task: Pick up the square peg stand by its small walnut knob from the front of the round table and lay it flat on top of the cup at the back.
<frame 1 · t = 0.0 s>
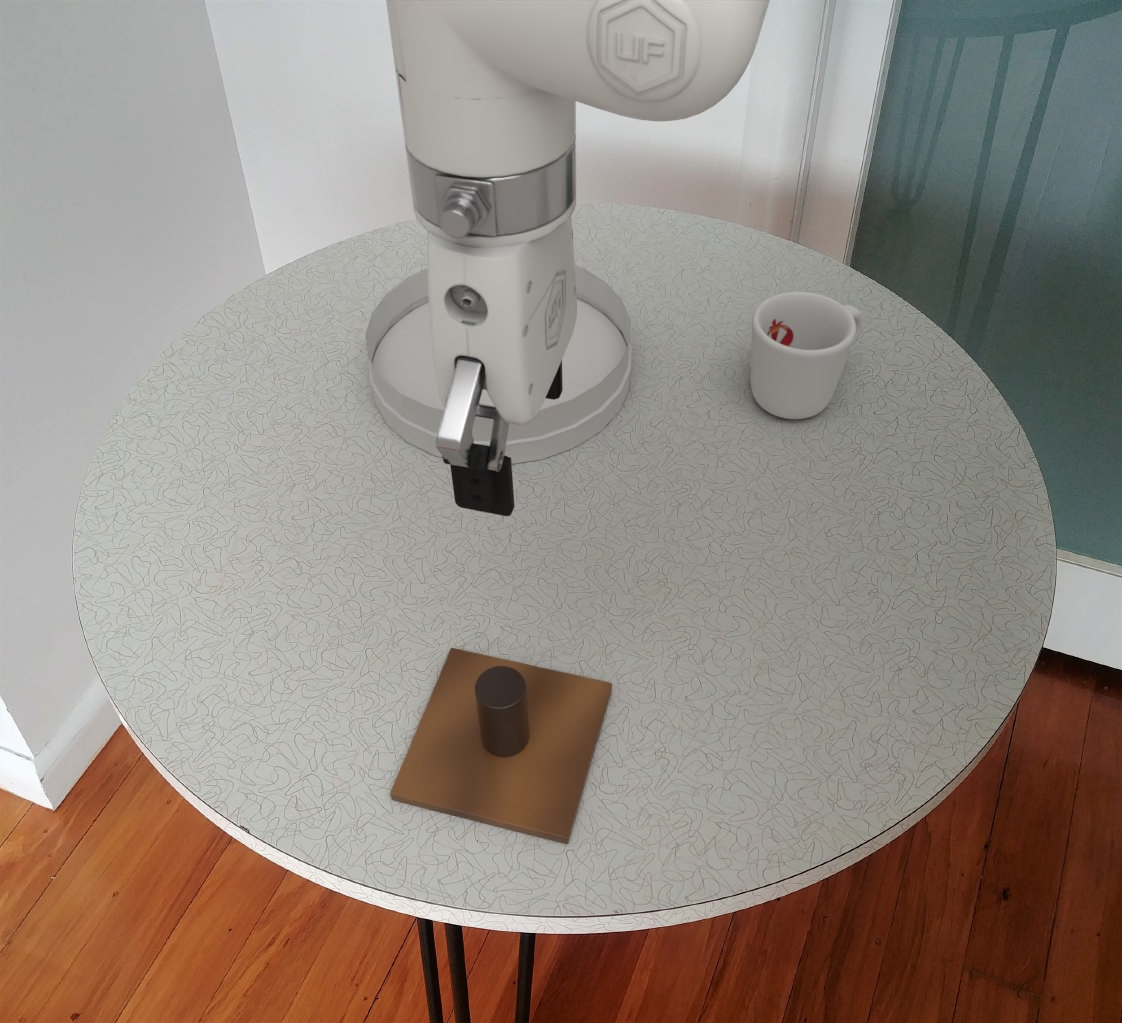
hand: (511, 447, 60), 17 cm above the table, tool pointing down, fingers open, 9 cm apart
dish: (501, 376, 91), on the table
square peg stand: (506, 742, 66), on the table
cup: (801, 393, 89), on the table
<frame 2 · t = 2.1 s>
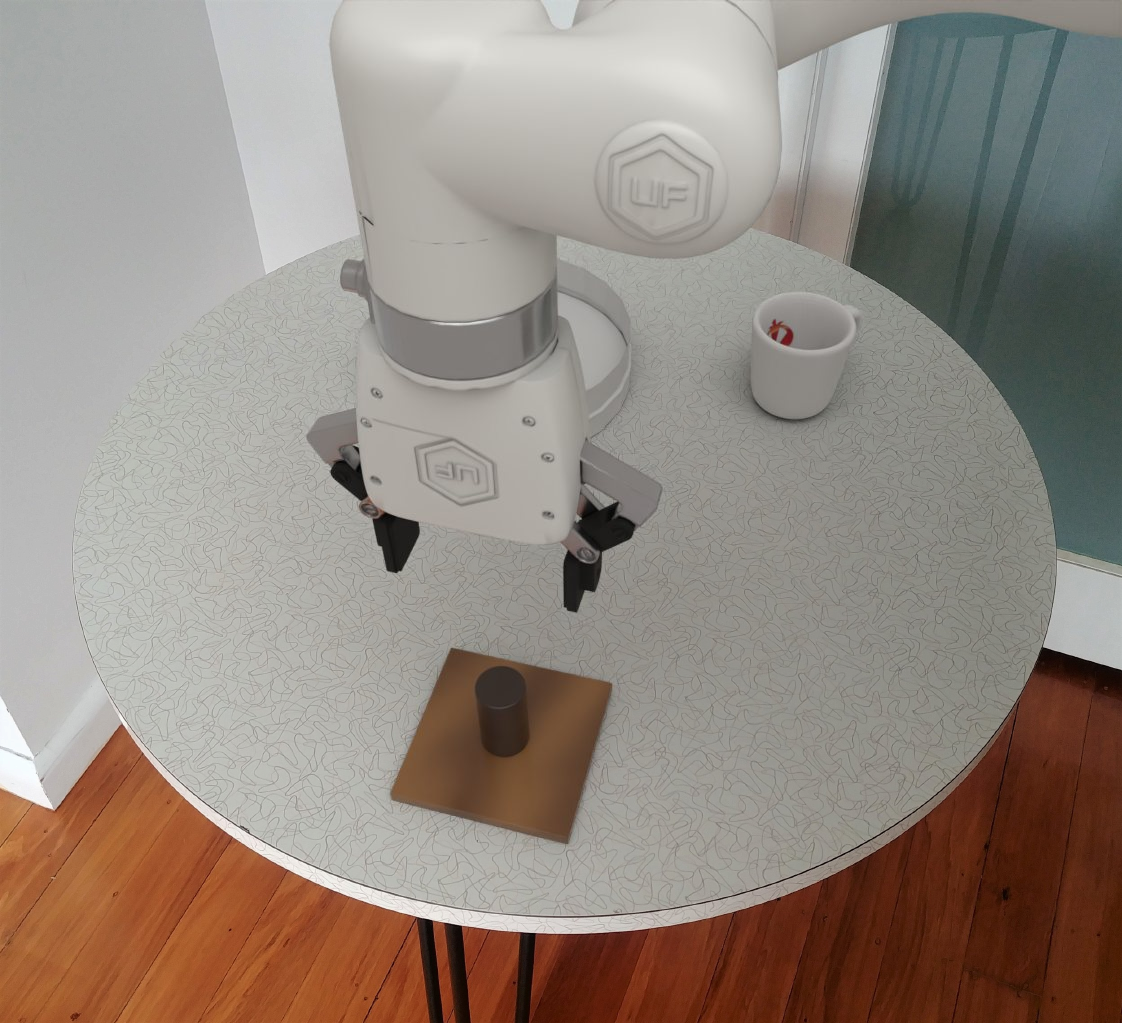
hand: (489, 571, 56), 15 cm above the table, tool pointing down, fingers open, 9 cm apart
nothing on the table moved.
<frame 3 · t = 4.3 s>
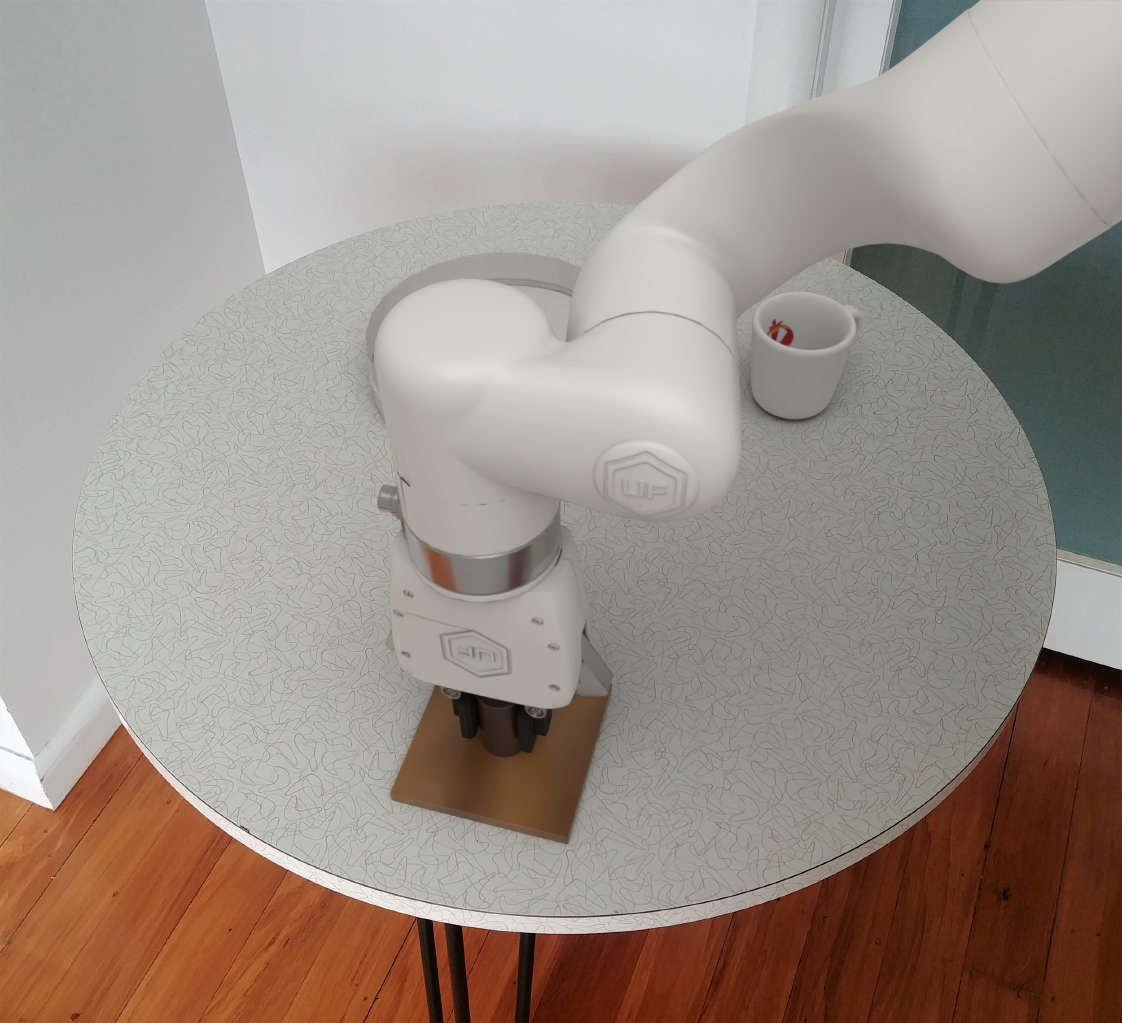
hand: (504, 723, 65), 2 cm above the table, tool pointing down, fingers closed on square peg stand, 3 cm apart
square peg stand: (506, 742, 66), on the table, touching gripper
everything else where it was.
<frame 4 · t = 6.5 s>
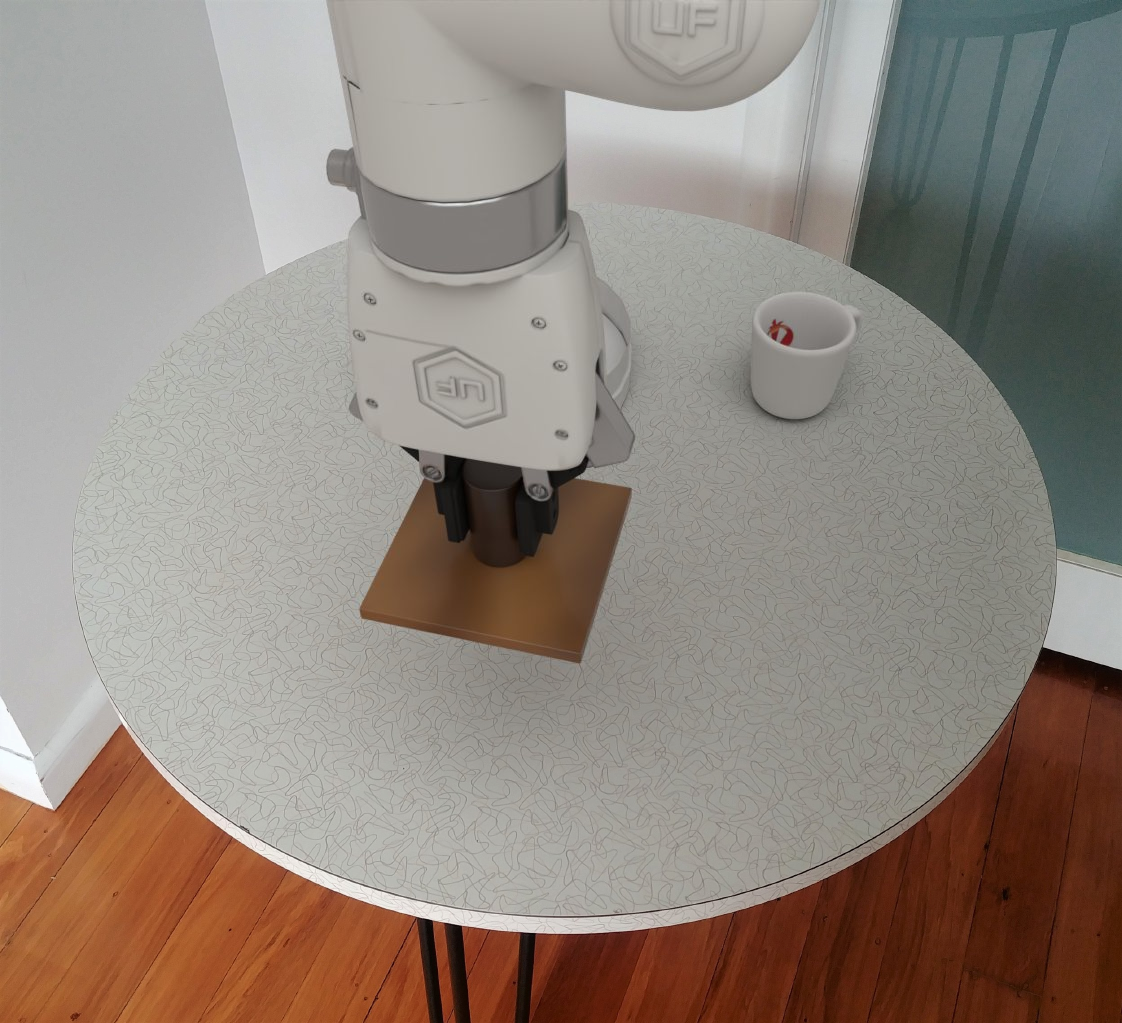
hand: (500, 526, 52), 20 cm above the table, tool pointing down, fingers closed on square peg stand, 3 cm apart
square peg stand: (502, 555, 54), point 17 cm above the table, touching gripper
everything else where it was.
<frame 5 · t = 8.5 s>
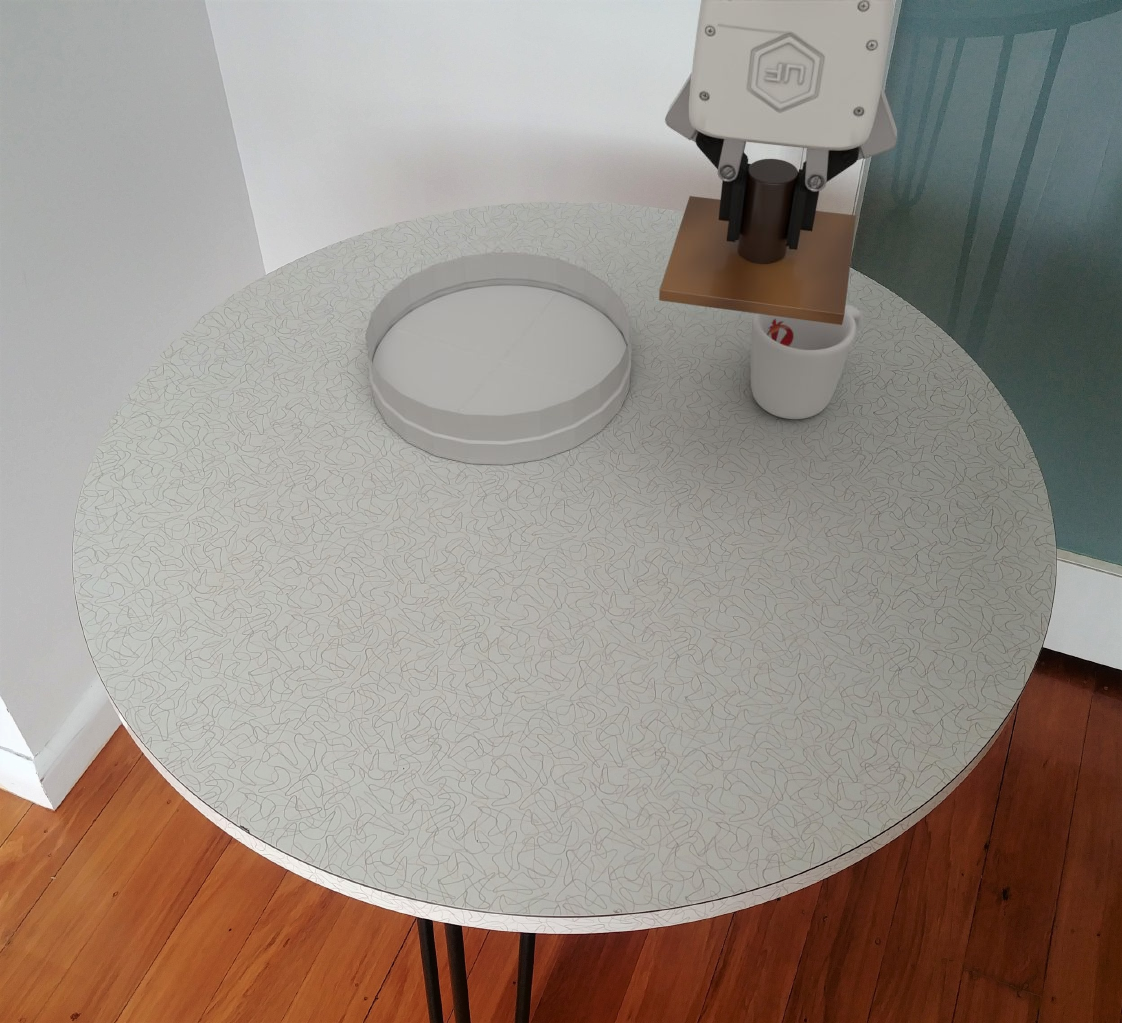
hand: (764, 231, 66), 22 cm above the table, tool pointing down, fingers closed on square peg stand, 3 cm apart
square peg stand: (760, 261, 67), point 20 cm above the table, touching gripper
everything else where it was.
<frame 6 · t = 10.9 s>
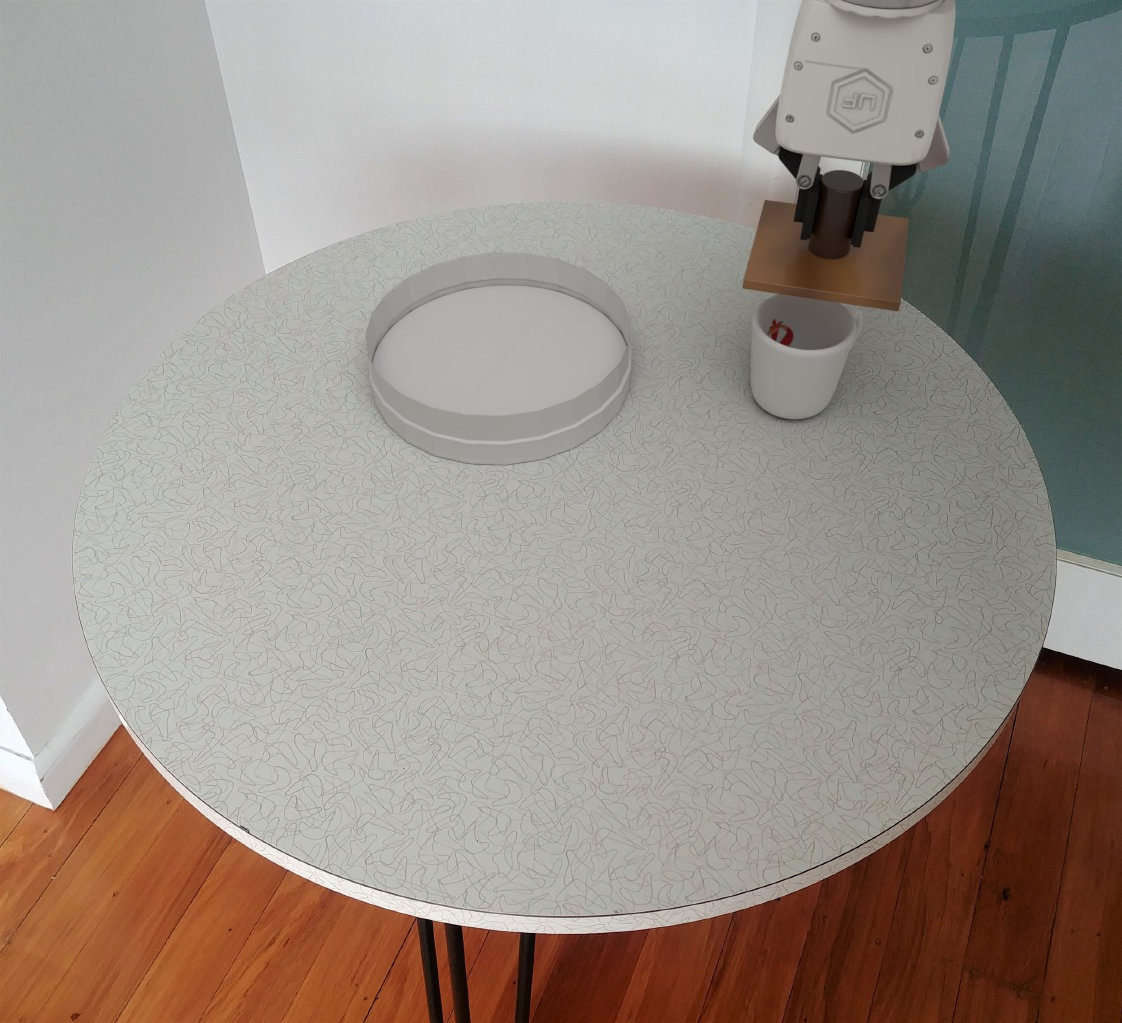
hand: (832, 231, 77), 15 cm above the table, tool pointing down, fingers closed on square peg stand, 3 cm apart
square peg stand: (827, 257, 79), point 13 cm above the table, touching gripper
everything else where it was.
when the fingers open (10 cm above the table, at t = 12.7 s): square peg stand stays where it is, resting on cup.
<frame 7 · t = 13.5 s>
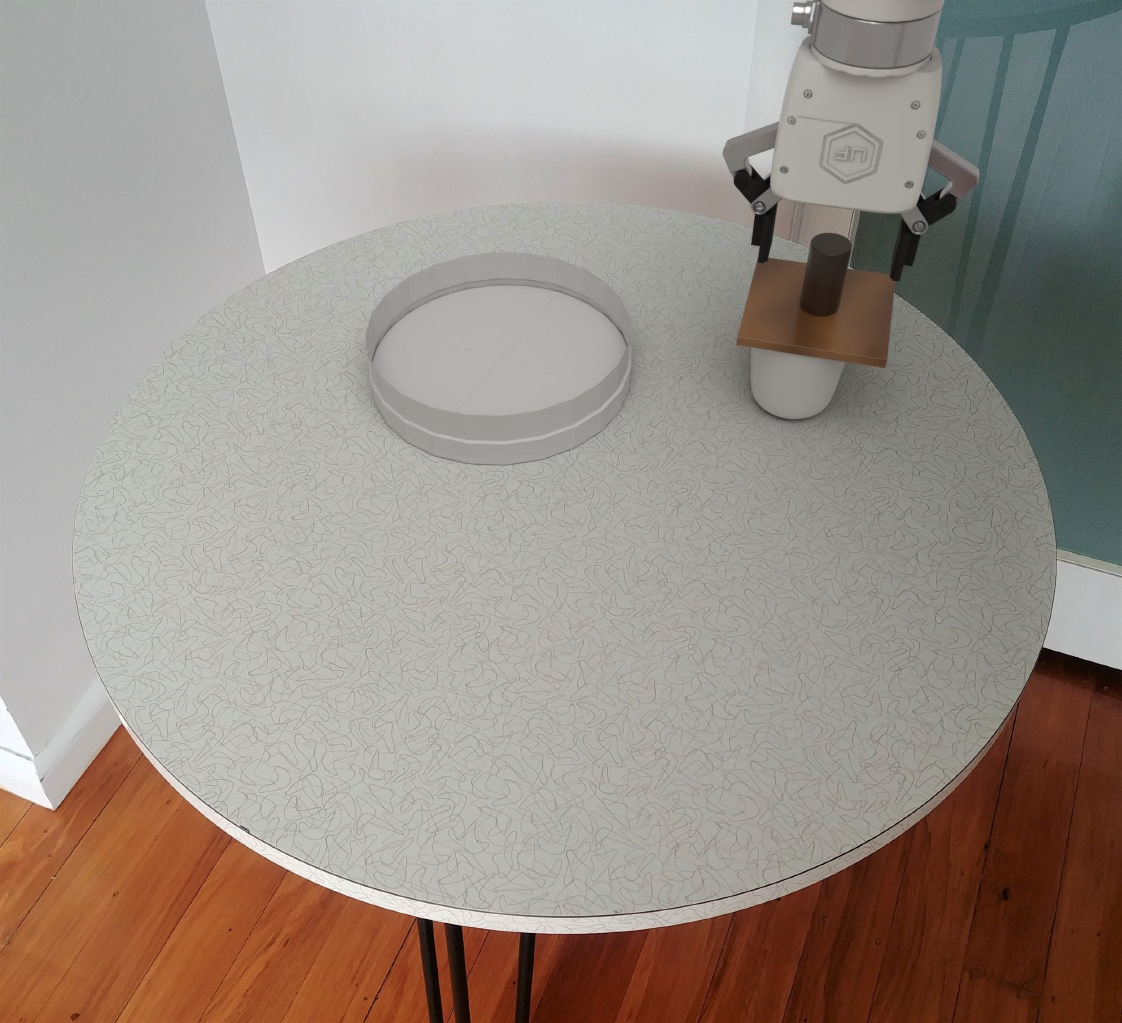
hand: (829, 261, 79), 13 cm above the table, tool pointing down, fingers open, 9 cm apart
square peg stand: (817, 313, 83), point 8 cm above the table, touching cup
cup: (801, 393, 89), on the table, touching square peg stand
everything else where it was.
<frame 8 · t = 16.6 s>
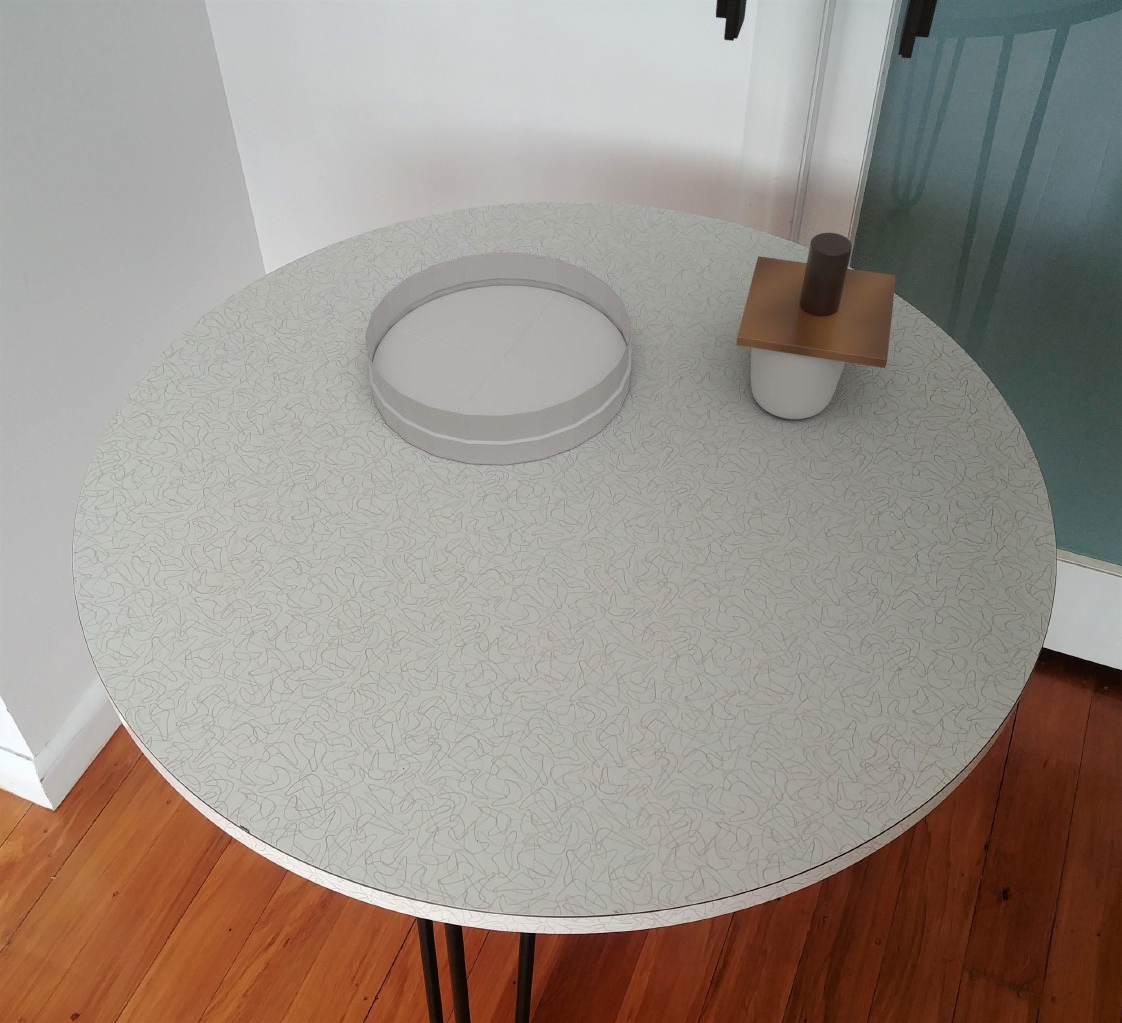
hand: (818, 39, 60), 32 cm above the table, tool pointing down, fingers open, 9 cm apart
nothing on the table moved.
at the end: square peg stand 0.0 cm off-centre on the cup, point 8.2 cm above the cup's base; square peg stand tilted 0°; the gripper is holding nothing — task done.
